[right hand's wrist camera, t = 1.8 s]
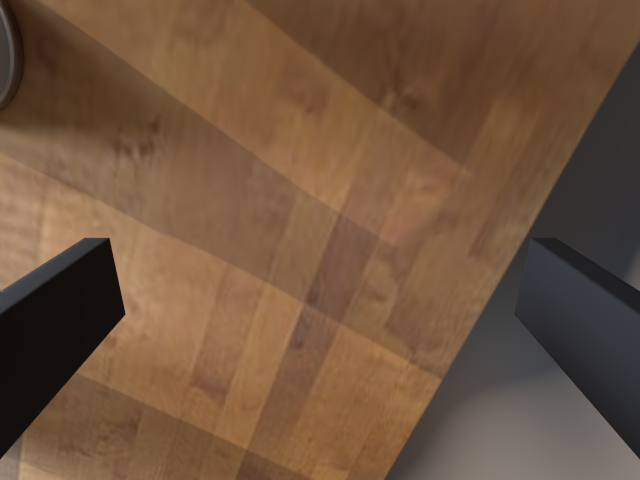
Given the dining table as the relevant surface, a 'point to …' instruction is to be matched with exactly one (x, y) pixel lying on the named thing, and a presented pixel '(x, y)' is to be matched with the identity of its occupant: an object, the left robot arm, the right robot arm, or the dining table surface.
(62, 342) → the right robot arm
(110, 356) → the dining table surface
